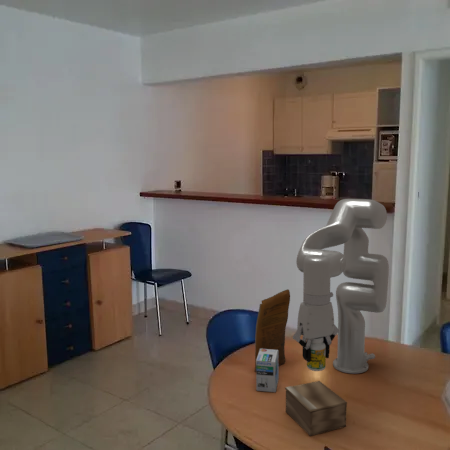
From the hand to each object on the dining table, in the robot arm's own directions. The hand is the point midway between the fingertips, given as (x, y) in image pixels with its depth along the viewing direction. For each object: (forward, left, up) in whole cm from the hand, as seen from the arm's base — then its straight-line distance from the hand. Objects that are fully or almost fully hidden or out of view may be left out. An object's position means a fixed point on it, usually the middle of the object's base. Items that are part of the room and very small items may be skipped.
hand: (316, 357), depth 143 cm
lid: (0, 0, -12) cm, 12 cm away
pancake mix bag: (-5, -37, -19) cm, 42 cm away
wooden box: (0, 0, -19) cm, 19 cm away
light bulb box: (+3, -25, -19) cm, 32 cm away
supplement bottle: (0, 0, -3) cm, 3 cm away
